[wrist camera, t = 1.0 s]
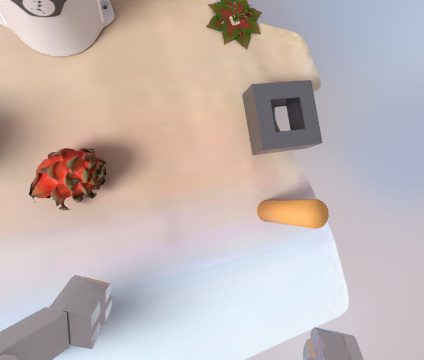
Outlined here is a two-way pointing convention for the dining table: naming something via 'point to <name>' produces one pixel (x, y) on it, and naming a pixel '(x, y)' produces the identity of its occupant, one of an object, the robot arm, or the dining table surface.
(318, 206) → the orange cylinder
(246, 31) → the green flowering plant
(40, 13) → the robot arm
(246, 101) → the gray square socket block
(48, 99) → the dining table surface
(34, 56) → the dining table surface
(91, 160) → the dragon fruit
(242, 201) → the dining table surface
